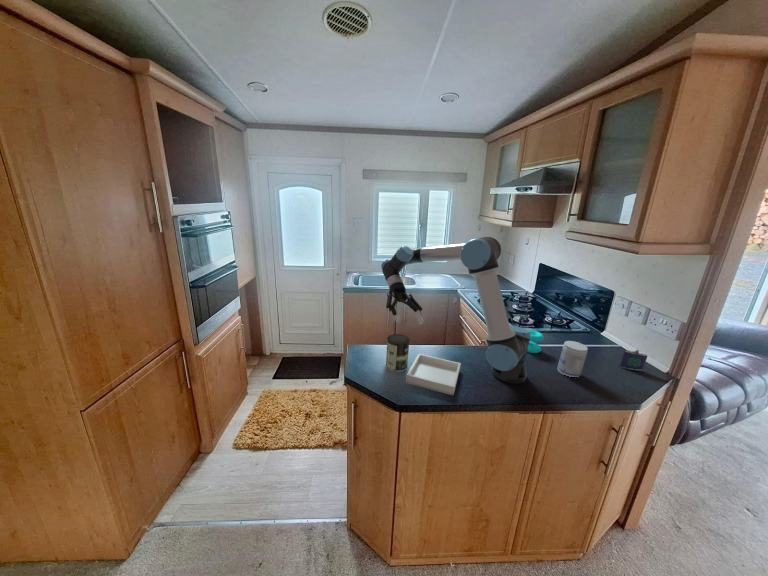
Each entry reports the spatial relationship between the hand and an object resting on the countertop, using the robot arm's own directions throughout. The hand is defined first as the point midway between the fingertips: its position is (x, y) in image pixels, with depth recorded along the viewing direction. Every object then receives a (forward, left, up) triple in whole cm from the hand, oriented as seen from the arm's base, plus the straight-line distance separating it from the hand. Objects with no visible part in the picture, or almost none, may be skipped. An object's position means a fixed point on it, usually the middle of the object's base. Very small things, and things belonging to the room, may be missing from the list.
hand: (410, 322), depth 131 cm
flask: (-102, -46, -22) cm, 114 cm away
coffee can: (+4, +3, -22) cm, 23 cm away
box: (-14, +4, -22) cm, 26 cm away
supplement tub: (-72, -27, -22) cm, 80 cm away
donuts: (-57, -45, -22) cm, 76 cm away
